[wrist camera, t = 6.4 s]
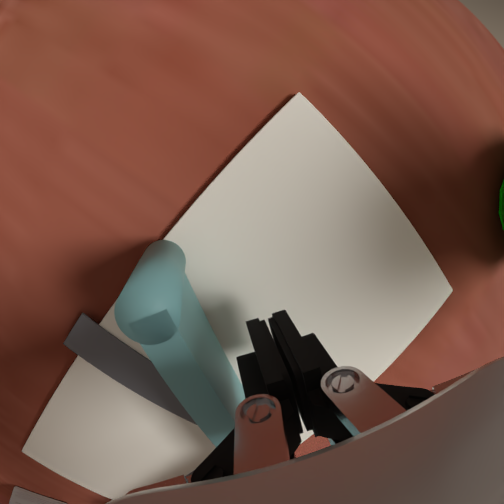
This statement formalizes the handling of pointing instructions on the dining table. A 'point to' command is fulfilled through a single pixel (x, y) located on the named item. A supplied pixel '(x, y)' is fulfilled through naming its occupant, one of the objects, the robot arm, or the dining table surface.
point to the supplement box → (30, 497)
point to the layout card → (249, 299)
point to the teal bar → (179, 339)
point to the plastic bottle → (501, 205)
